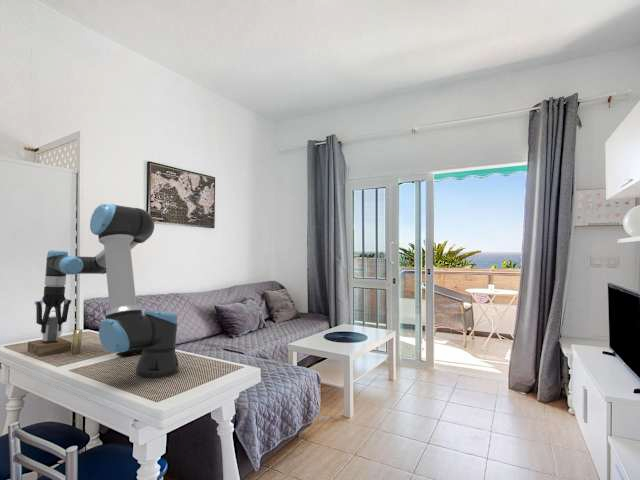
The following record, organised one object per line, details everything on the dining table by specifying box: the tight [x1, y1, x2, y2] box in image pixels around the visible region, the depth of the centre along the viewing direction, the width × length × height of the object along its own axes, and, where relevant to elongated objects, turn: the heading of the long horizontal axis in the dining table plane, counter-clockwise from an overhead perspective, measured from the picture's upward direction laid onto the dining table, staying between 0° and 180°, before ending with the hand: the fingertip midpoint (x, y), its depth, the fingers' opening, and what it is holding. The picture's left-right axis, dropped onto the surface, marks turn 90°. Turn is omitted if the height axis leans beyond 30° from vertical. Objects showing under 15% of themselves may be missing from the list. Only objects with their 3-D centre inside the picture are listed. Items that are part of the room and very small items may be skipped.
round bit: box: [71, 329, 83, 356], centre depth 162 cm, size 3×3×10 cm
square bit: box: [47, 316, 58, 341], centre depth 164 cm, size 3×3×10 cm
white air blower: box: [41, 307, 63, 338], centre depth 179 cm, size 8×8×18 cm
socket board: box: [27, 337, 73, 357], centre depth 164 cm, size 12×12×4 cm
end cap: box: [116, 348, 143, 357], centre depth 166 cm, size 10×7×7 cm
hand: (50, 339), depth 164 cm, fingers closed on square bit, 3 cm apart
